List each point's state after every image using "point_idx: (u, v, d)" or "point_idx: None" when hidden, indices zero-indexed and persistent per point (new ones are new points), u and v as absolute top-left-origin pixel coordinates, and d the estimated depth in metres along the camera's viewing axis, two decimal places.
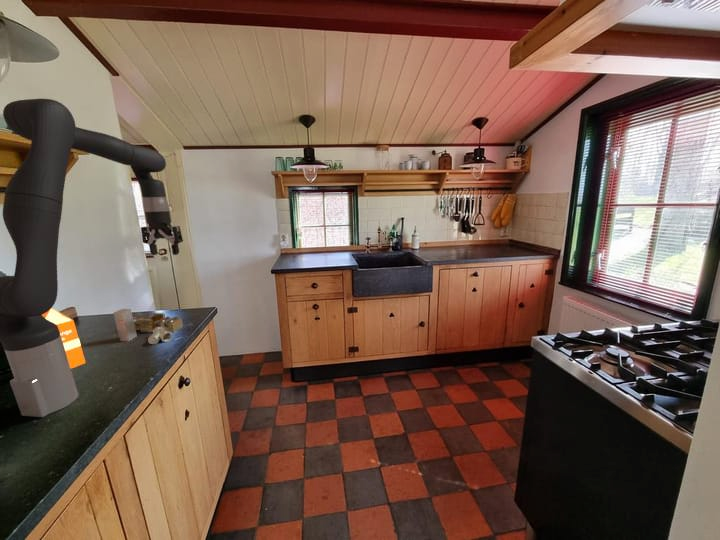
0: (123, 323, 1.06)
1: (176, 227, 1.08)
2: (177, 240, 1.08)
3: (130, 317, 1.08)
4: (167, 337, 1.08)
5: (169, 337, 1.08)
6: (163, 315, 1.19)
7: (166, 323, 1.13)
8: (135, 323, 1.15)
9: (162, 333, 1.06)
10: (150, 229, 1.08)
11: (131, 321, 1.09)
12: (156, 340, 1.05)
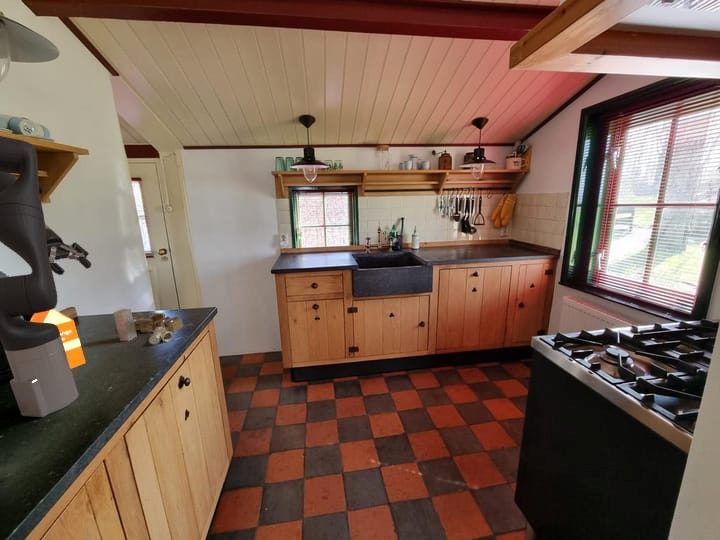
0: (123, 323, 1.06)
1: None
2: (86, 252, 1.07)
3: (130, 317, 1.08)
4: (168, 337, 1.08)
5: (170, 337, 1.08)
6: (163, 315, 1.19)
7: (166, 323, 1.13)
8: (135, 323, 1.15)
9: (163, 333, 1.06)
10: None
11: (131, 321, 1.08)
12: (157, 340, 1.05)
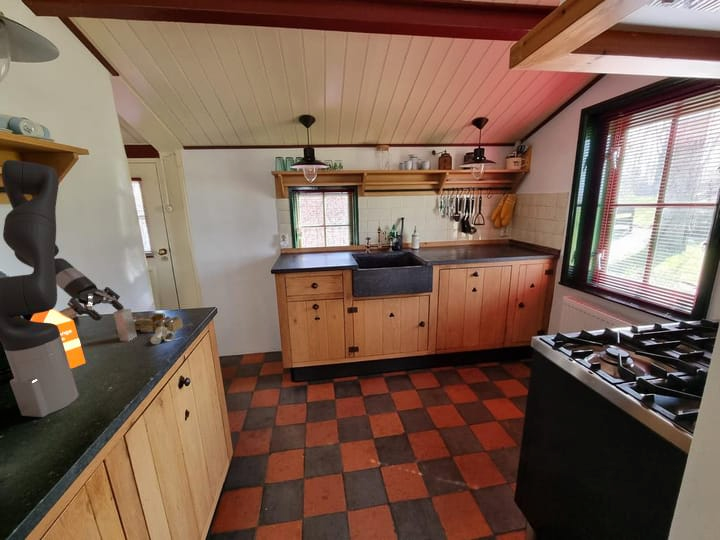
0: (123, 323, 1.06)
1: None
2: (118, 295, 1.13)
3: (130, 317, 1.08)
4: (169, 337, 1.08)
5: (171, 337, 1.08)
6: (163, 315, 1.19)
7: (166, 323, 1.13)
8: (135, 323, 1.15)
9: (165, 333, 1.06)
10: (82, 297, 1.03)
11: (131, 321, 1.08)
12: (159, 340, 1.05)
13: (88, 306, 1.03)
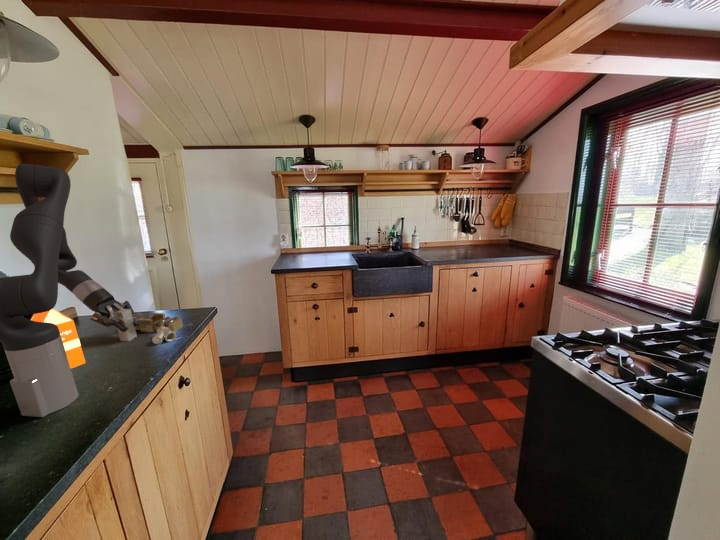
0: (123, 323, 1.06)
1: None
2: (132, 311, 1.12)
3: (130, 317, 1.08)
4: (171, 337, 1.09)
5: (173, 337, 1.08)
6: (163, 315, 1.19)
7: (166, 323, 1.13)
8: None
9: (166, 333, 1.06)
10: (101, 309, 1.04)
11: (131, 321, 1.09)
12: (160, 340, 1.05)
13: (114, 318, 1.05)
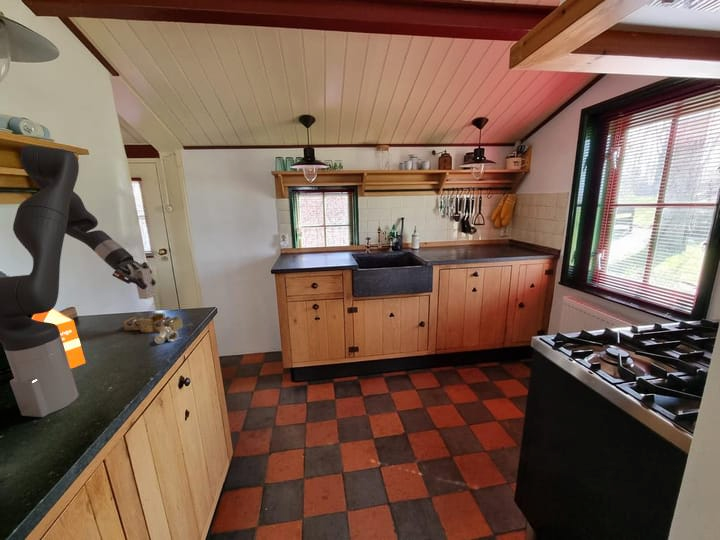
0: (143, 280, 1.11)
1: None
2: (150, 271, 1.17)
3: (149, 276, 1.13)
4: (173, 337, 1.09)
5: (175, 337, 1.08)
6: (163, 315, 1.19)
7: (166, 323, 1.13)
8: (135, 323, 1.15)
9: (168, 333, 1.06)
10: (122, 267, 1.09)
11: (150, 280, 1.14)
12: (162, 340, 1.05)
13: (134, 276, 1.10)
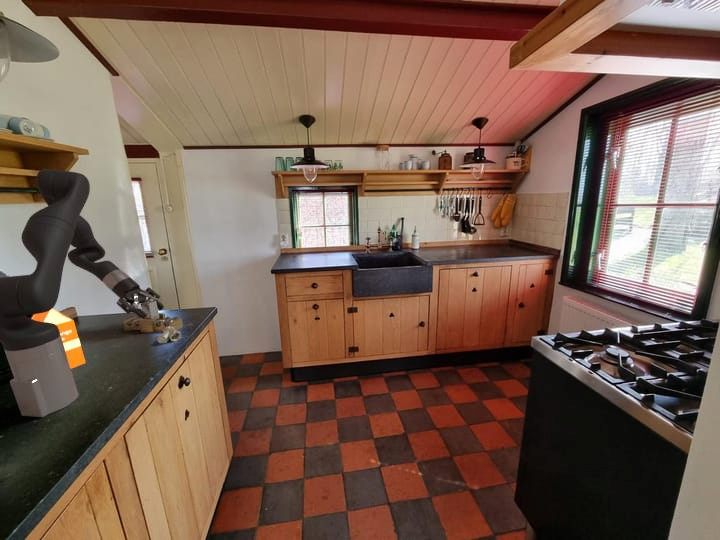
0: (150, 313, 1.14)
1: None
2: (158, 295, 1.22)
3: (155, 308, 1.16)
4: (176, 337, 1.09)
5: (178, 337, 1.08)
6: (163, 315, 1.19)
7: (166, 323, 1.13)
8: (135, 323, 1.15)
9: (171, 333, 1.06)
10: (129, 296, 1.12)
11: (156, 312, 1.17)
12: (165, 339, 1.05)
13: (135, 305, 1.11)
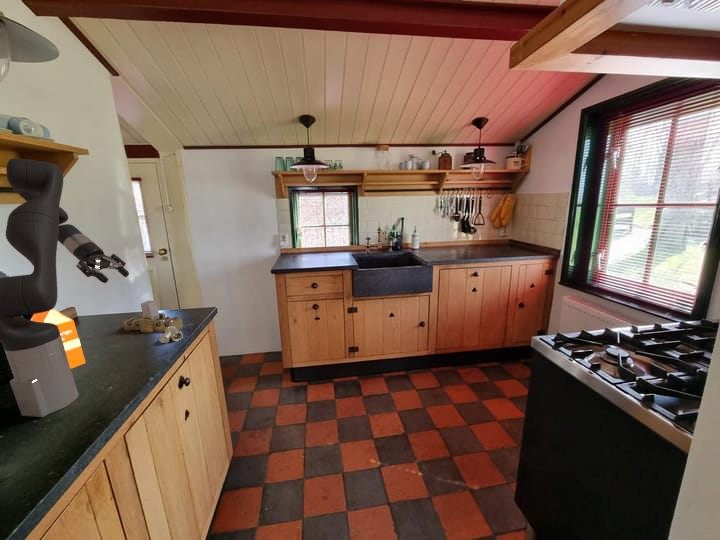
0: (150, 313, 1.14)
1: None
2: (123, 262, 1.18)
3: (155, 308, 1.16)
4: (178, 337, 1.09)
5: (180, 337, 1.08)
6: (163, 315, 1.19)
7: (166, 323, 1.13)
8: (135, 323, 1.15)
9: (173, 333, 1.06)
10: (90, 260, 1.09)
11: (156, 312, 1.17)
12: (167, 339, 1.05)
13: (96, 269, 1.08)
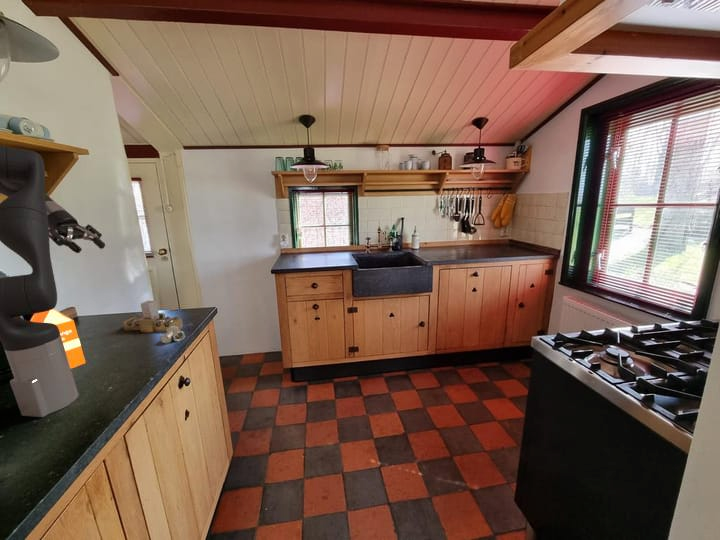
0: (150, 313, 1.14)
1: None
2: (99, 233, 1.12)
3: (155, 308, 1.16)
4: (180, 336, 1.09)
5: (182, 337, 1.08)
6: (163, 315, 1.19)
7: (166, 323, 1.13)
8: (135, 323, 1.15)
9: (175, 332, 1.06)
10: (62, 229, 1.03)
11: (156, 312, 1.17)
12: (169, 339, 1.05)
13: (68, 238, 1.02)
